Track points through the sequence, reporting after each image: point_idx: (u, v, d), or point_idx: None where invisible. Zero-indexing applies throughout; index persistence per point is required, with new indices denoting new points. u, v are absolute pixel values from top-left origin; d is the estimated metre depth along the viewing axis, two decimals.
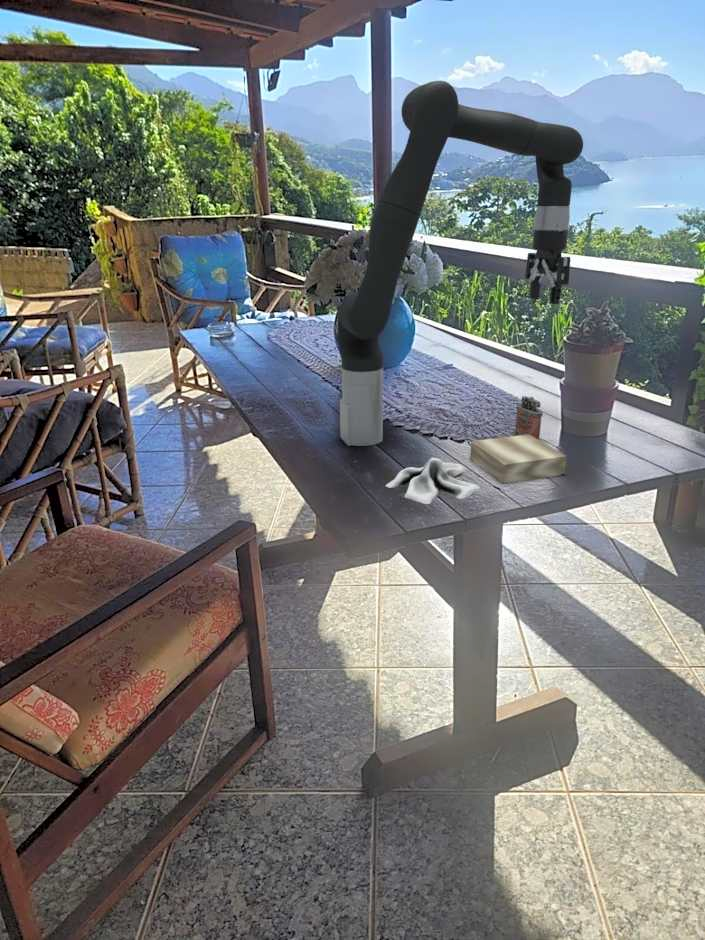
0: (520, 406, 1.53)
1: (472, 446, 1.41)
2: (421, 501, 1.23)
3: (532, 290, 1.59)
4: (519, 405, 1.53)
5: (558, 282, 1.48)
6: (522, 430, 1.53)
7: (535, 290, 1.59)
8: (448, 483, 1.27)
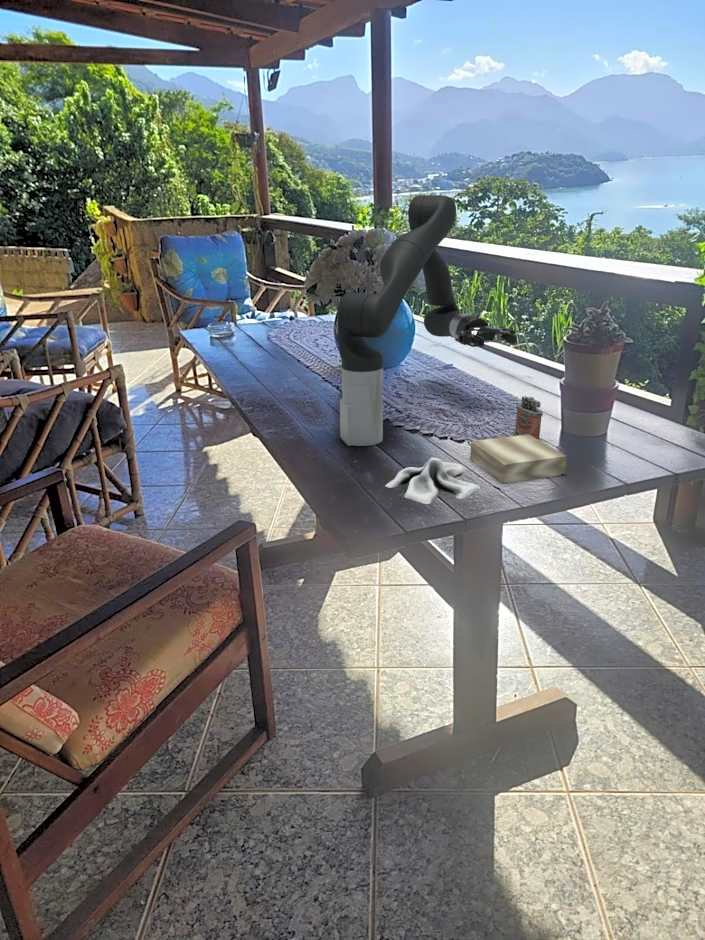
0: (520, 406, 1.53)
1: (472, 446, 1.41)
2: (421, 501, 1.23)
3: None
4: (519, 405, 1.53)
5: (513, 330, 1.66)
6: (522, 430, 1.53)
7: None
8: (448, 483, 1.27)
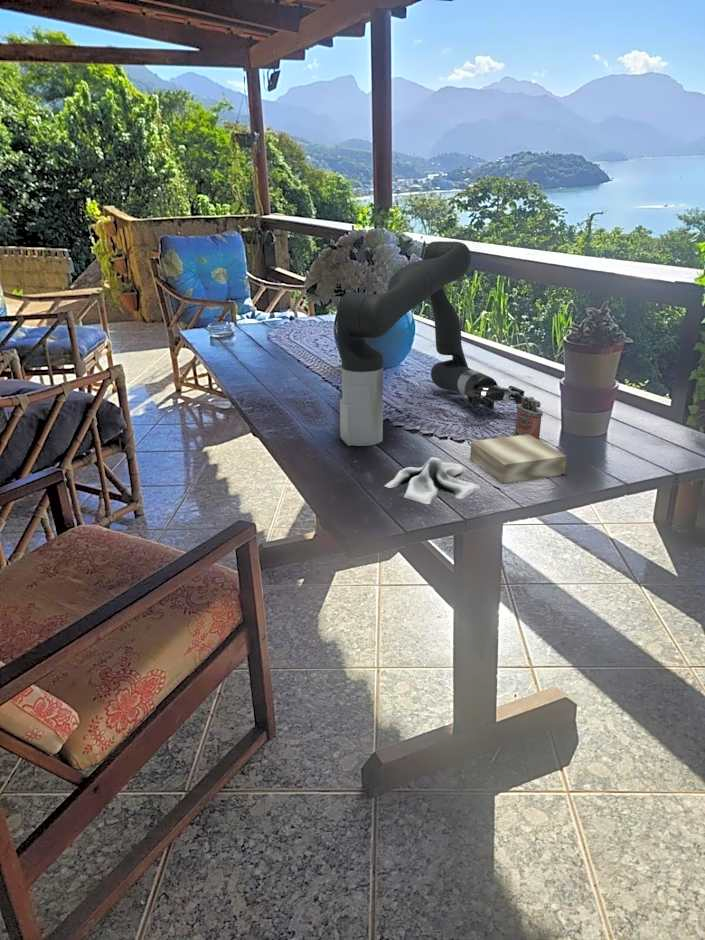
0: (520, 406, 1.53)
1: (472, 446, 1.41)
2: (421, 500, 1.23)
3: None
4: (519, 405, 1.53)
5: None
6: (522, 430, 1.53)
7: None
8: (448, 482, 1.27)
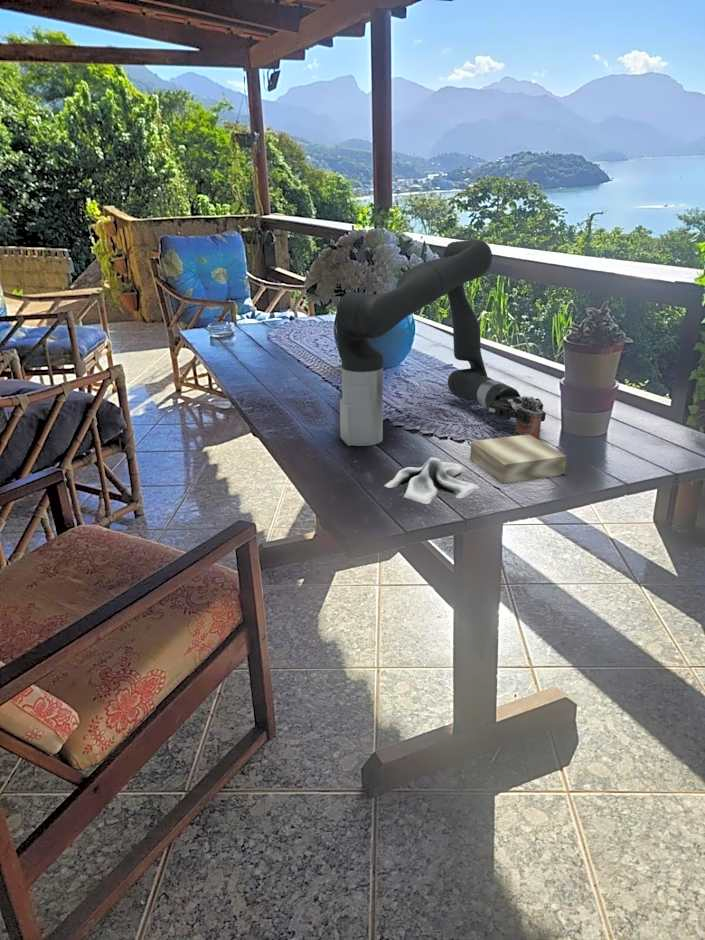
0: (520, 406, 1.53)
1: (472, 446, 1.41)
2: (421, 501, 1.23)
3: None
4: (519, 405, 1.53)
5: (542, 404, 1.54)
6: (522, 430, 1.53)
7: None
8: (447, 483, 1.27)
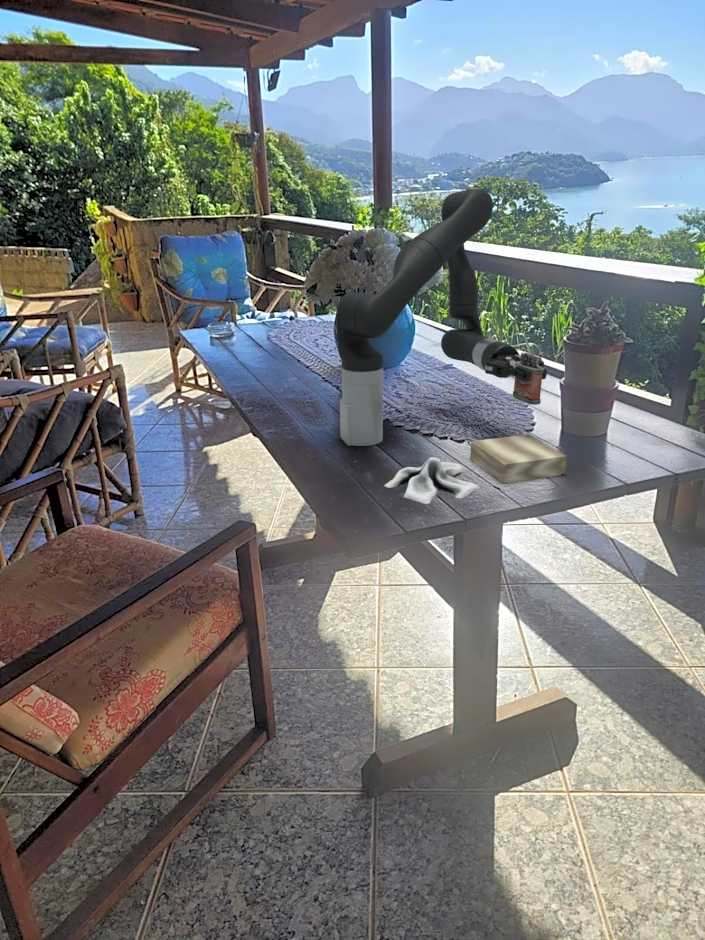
0: (519, 363, 1.41)
1: (472, 446, 1.41)
2: (420, 501, 1.23)
3: None
4: (518, 362, 1.42)
5: (542, 362, 1.43)
6: (521, 389, 1.41)
7: None
8: (447, 482, 1.27)
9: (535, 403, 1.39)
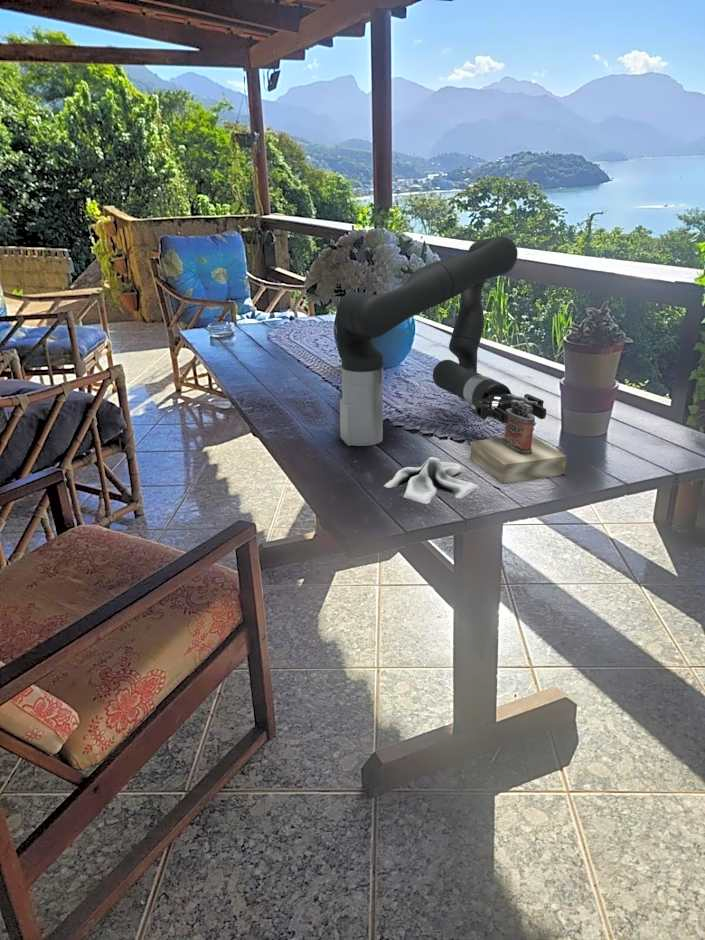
0: (510, 411, 1.36)
1: (472, 446, 1.41)
2: (420, 500, 1.23)
3: None
4: (509, 410, 1.37)
5: (542, 400, 1.38)
6: (512, 438, 1.36)
7: None
8: (447, 482, 1.27)
9: (526, 453, 1.33)
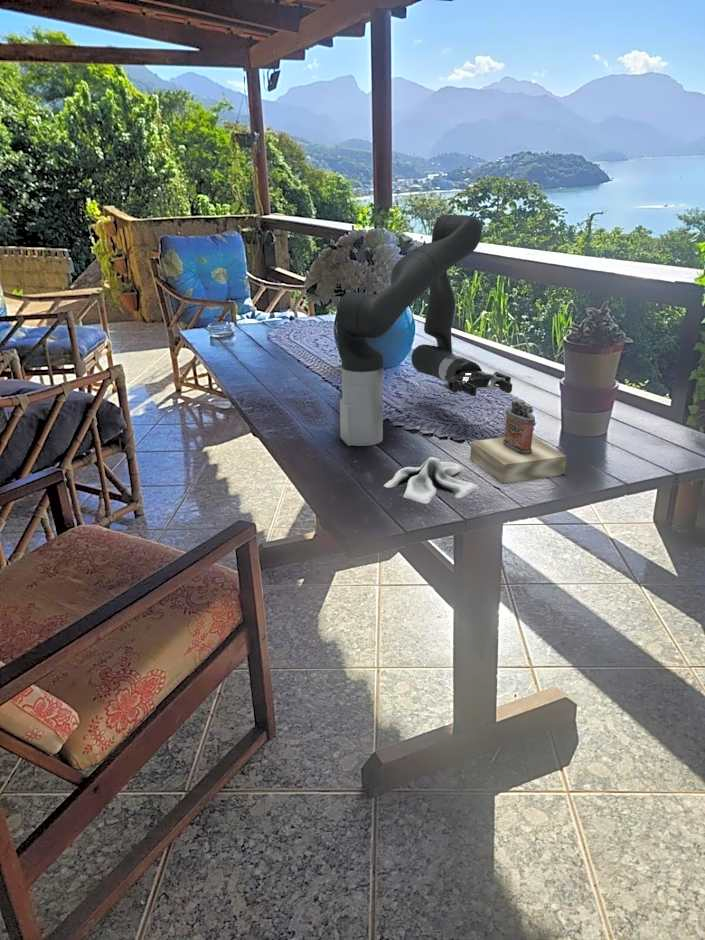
0: (510, 411, 1.36)
1: (472, 446, 1.41)
2: (420, 501, 1.23)
3: None
4: (509, 410, 1.37)
5: (509, 377, 1.50)
6: (512, 438, 1.36)
7: None
8: (446, 482, 1.27)
9: (526, 453, 1.33)
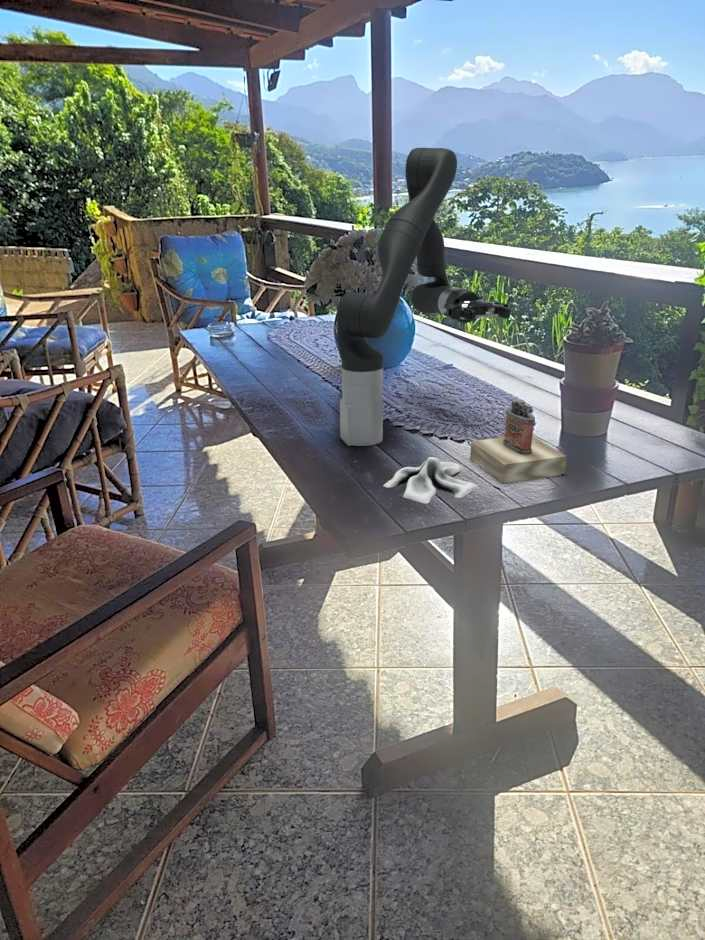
0: (510, 411, 1.36)
1: (472, 446, 1.41)
2: (420, 500, 1.23)
3: None
4: (509, 410, 1.37)
5: (507, 304, 1.52)
6: (512, 438, 1.36)
7: None
8: (446, 482, 1.27)
9: (526, 453, 1.33)
